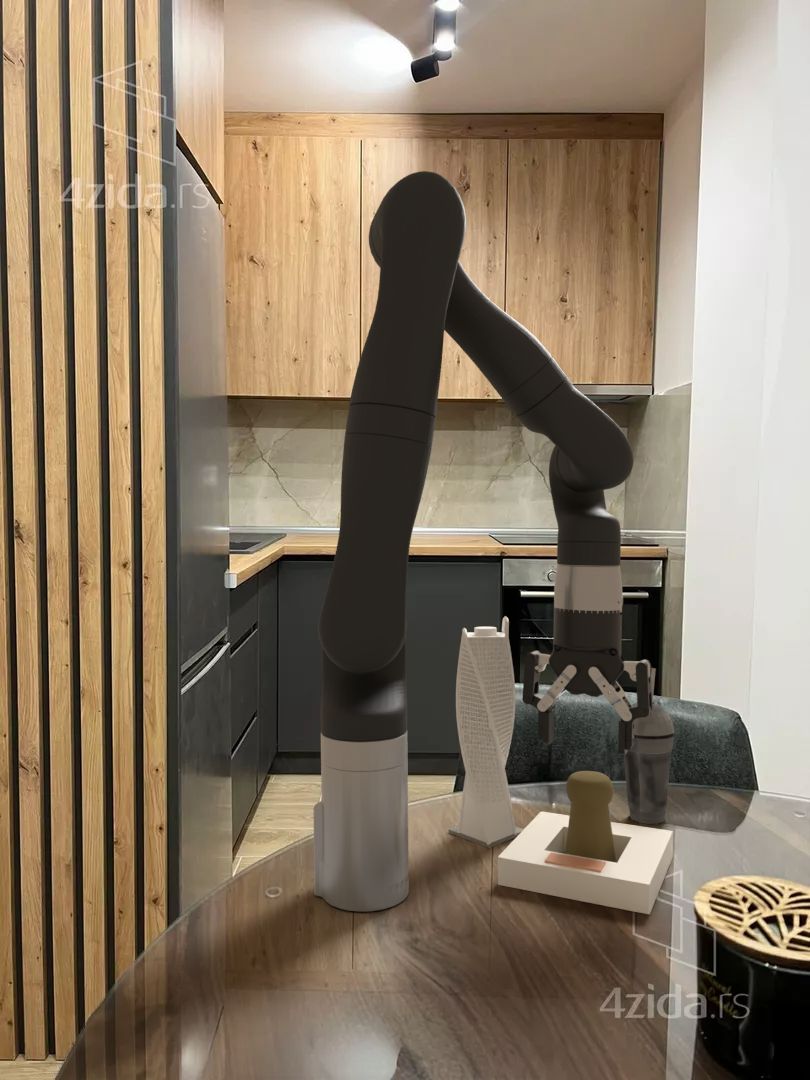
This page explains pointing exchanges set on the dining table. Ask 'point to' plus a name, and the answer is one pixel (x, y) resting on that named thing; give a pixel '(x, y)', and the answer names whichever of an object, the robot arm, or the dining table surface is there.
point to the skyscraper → (485, 734)
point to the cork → (590, 816)
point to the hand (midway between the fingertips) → (585, 747)
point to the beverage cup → (649, 765)
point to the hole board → (588, 864)
